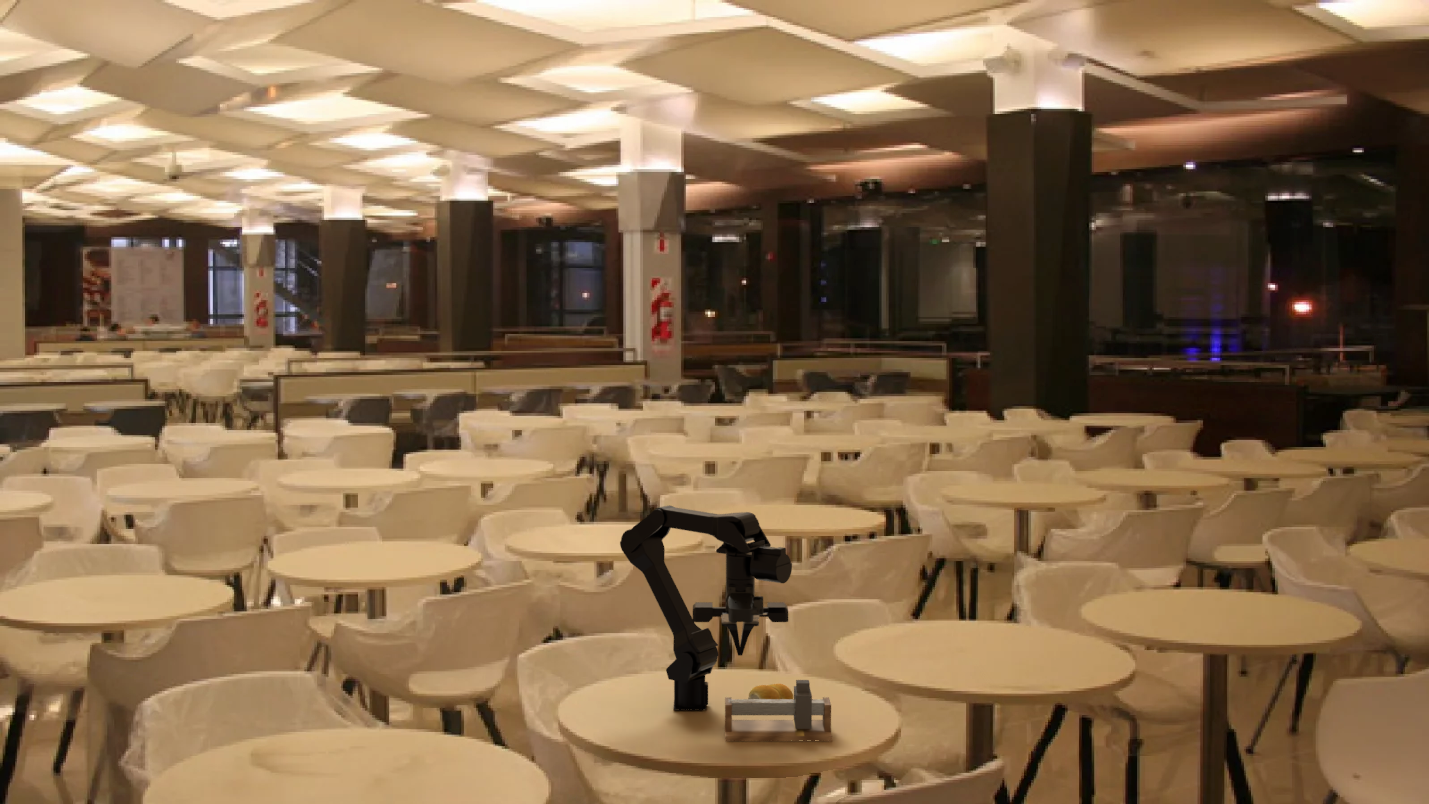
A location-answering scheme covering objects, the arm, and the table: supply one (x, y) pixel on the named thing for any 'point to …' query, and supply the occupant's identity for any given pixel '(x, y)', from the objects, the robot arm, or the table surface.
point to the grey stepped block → (803, 705)
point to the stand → (776, 728)
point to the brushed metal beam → (771, 706)
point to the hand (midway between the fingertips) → (740, 655)
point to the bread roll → (771, 692)
